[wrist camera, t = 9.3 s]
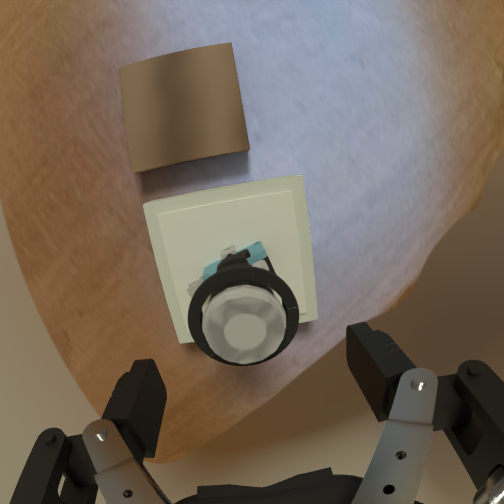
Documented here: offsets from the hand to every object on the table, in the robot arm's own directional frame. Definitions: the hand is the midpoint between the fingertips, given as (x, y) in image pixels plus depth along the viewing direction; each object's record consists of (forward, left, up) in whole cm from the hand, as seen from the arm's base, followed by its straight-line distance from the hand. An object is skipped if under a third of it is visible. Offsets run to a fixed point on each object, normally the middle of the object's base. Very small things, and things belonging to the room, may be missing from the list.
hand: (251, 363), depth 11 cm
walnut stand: (+2, -13, -14) cm, 20 cm away
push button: (+1, 0, -12) cm, 12 cm away
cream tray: (0, 0, -14) cm, 14 cm away
